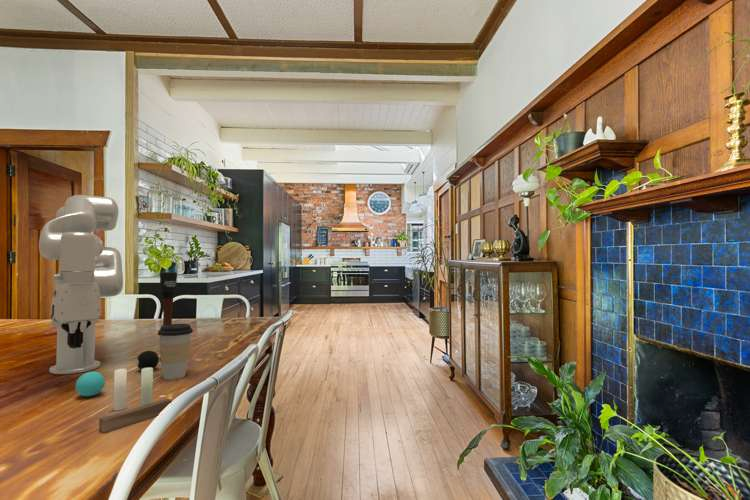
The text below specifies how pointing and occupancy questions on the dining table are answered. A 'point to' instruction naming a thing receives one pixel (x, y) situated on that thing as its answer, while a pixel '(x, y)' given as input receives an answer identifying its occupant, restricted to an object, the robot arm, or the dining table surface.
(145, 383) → the sage pin
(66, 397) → the dining table surface
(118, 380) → the cream pin
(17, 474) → the dining table surface
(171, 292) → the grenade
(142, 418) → the walnut rail
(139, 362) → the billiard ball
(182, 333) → the coffee cup
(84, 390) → the ball
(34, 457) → the dining table surface
